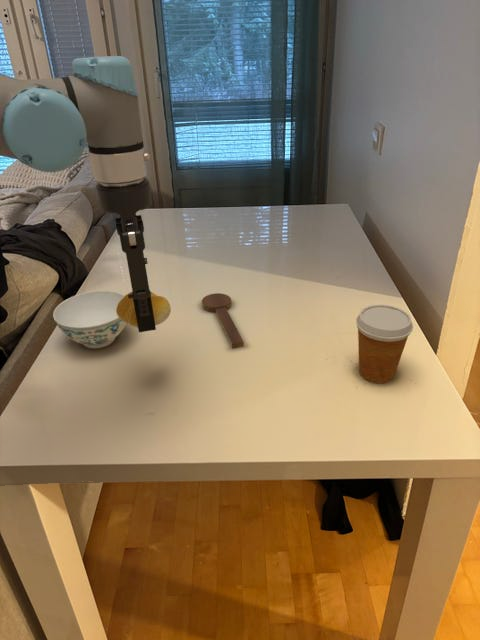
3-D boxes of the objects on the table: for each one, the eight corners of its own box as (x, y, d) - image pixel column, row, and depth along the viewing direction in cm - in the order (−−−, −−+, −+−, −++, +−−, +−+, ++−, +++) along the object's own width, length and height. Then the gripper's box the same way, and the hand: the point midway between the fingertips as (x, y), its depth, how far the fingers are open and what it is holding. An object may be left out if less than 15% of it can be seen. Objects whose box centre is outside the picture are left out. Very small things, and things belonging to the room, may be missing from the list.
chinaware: (83, 318, 106) (76, 288, 102) (145, 324, 103) (141, 293, 99) (47, 356, 93) (37, 323, 89) (117, 364, 90) (110, 330, 86)
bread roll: (145, 335, 73) (141, 313, 71) (110, 318, 78) (105, 297, 76) (182, 313, 79) (180, 293, 76) (148, 298, 84) (144, 278, 81)
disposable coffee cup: (349, 385, 83) (355, 328, 77) (351, 355, 91) (357, 301, 84) (405, 392, 81) (416, 334, 74) (402, 360, 89) (412, 305, 82)
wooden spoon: (221, 350, 93) (221, 344, 92) (199, 301, 111) (199, 295, 110) (254, 344, 95) (253, 338, 94) (227, 296, 113) (226, 291, 112)
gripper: (156, 198, 58) (175, 346, 70) (142, 161, 76) (159, 283, 88) (94, 205, 57) (125, 355, 68) (95, 165, 75) (119, 289, 87)
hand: (144, 314), depth 78 cm, fingers closed on bread roll, 9 cm apart
